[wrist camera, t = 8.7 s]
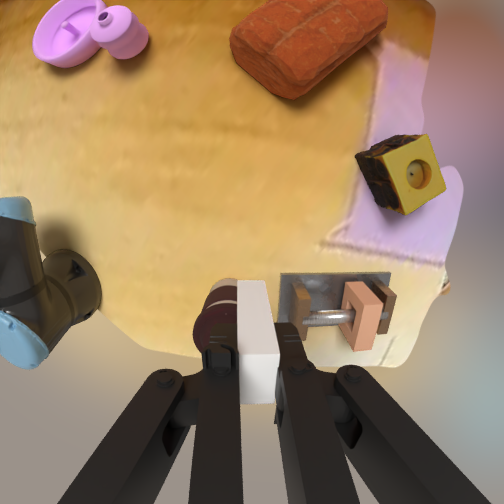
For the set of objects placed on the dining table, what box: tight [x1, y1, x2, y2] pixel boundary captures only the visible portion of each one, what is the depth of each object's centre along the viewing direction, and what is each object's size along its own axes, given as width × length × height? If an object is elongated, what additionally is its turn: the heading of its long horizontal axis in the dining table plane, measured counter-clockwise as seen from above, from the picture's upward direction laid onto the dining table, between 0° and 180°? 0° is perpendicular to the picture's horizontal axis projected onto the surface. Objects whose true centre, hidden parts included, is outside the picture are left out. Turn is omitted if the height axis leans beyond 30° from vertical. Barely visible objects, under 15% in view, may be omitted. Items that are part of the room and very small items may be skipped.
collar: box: [338, 281, 383, 352], centre depth 47 cm, size 4×9×9 cm, turn 178°
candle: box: [355, 134, 446, 215], centre depth 41 cm, size 10×10×10 cm
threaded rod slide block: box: [277, 272, 397, 341], centre depth 49 cm, size 22×11×8 cm, turn 89°
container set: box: [32, 0, 148, 68], centre depth 29 cm, size 25×15×13 cm, turn 64°
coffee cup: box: [193, 278, 237, 353], centre depth 45 cm, size 10×10×15 cm
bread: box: [229, 0, 388, 100], centre depth 33 cm, size 16×27×11 cm, turn 136°
